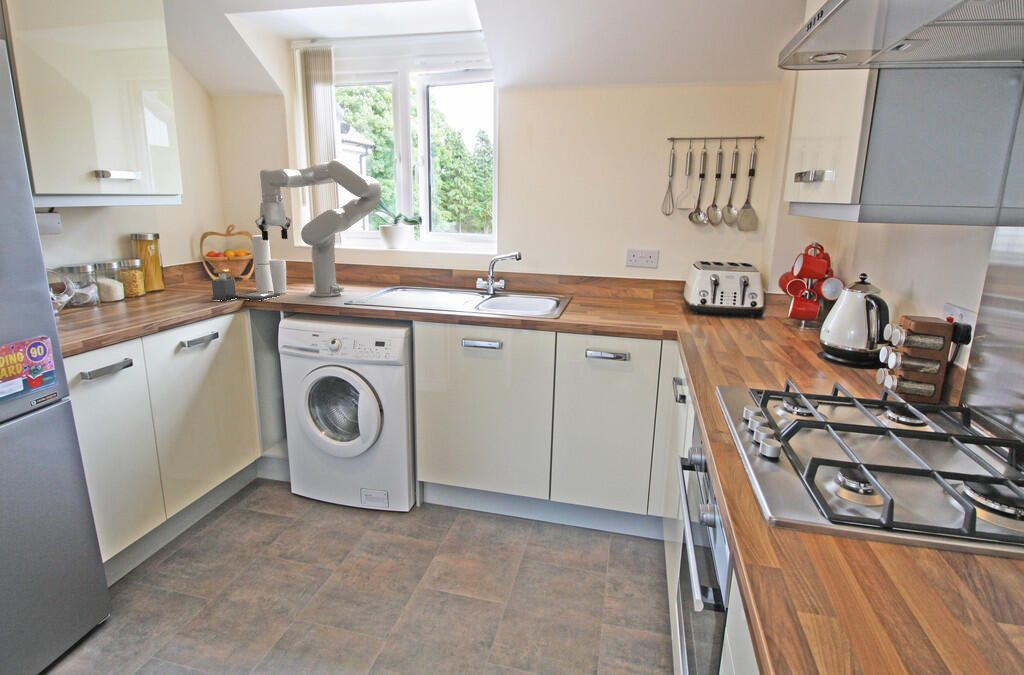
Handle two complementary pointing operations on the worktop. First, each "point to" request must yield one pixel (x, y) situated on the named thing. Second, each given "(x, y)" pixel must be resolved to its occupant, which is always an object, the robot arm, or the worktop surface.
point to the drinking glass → (278, 275)
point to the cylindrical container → (262, 263)
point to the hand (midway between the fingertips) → (275, 239)
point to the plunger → (222, 273)
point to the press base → (227, 291)
